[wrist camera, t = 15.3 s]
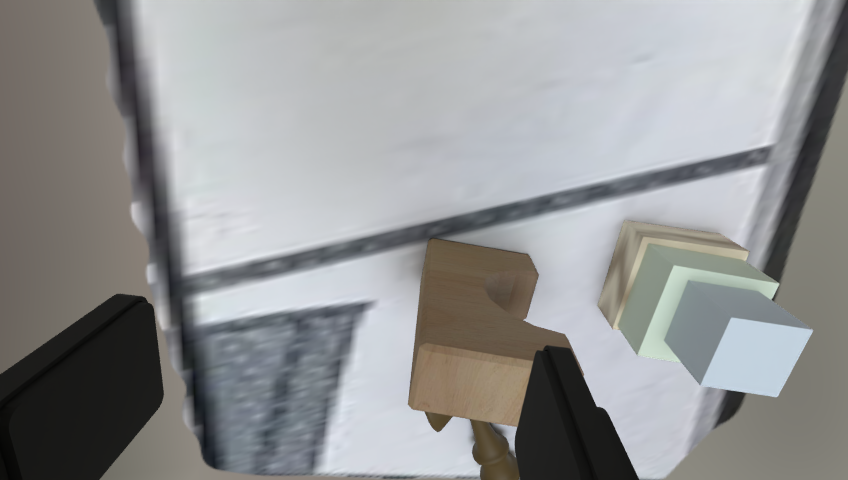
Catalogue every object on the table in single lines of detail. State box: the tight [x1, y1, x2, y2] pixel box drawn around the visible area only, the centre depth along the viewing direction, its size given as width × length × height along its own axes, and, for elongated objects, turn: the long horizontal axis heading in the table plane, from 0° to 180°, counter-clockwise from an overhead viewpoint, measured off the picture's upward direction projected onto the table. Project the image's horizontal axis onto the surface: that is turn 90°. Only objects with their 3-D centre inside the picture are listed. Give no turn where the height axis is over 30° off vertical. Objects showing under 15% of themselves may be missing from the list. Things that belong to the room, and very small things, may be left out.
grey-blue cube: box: [664, 280, 813, 397], centre depth 36 cm, size 6×6×6 cm
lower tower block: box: [598, 220, 750, 330], centre depth 46 cm, size 10×10×5 cm
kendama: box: [425, 412, 520, 480], centre depth 53 cm, size 6×10×20 cm
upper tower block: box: [618, 243, 779, 363], centre depth 41 cm, size 9×9×5 cm
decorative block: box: [408, 238, 584, 427], centre depth 40 cm, size 11×6×20 cm, turn 79°
